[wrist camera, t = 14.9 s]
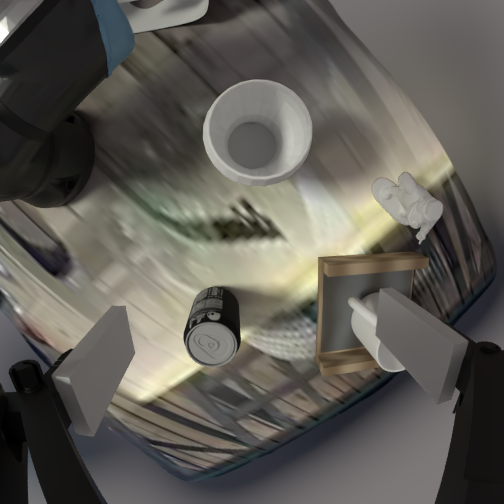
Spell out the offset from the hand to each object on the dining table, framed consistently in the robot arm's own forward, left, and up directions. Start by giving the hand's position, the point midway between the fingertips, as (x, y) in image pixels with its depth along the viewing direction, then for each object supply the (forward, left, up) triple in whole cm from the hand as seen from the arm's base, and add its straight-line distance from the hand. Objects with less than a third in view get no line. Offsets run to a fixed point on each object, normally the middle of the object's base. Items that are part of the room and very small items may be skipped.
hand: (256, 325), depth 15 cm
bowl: (-13, +42, -29) cm, 53 cm away
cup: (+2, +12, -29) cm, 31 cm away
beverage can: (-4, -10, -29) cm, 31 cm away
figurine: (+23, +4, -29) cm, 37 cm away
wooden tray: (+19, -12, -29) cm, 36 cm away
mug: (+18, -12, -27) cm, 35 cm away
